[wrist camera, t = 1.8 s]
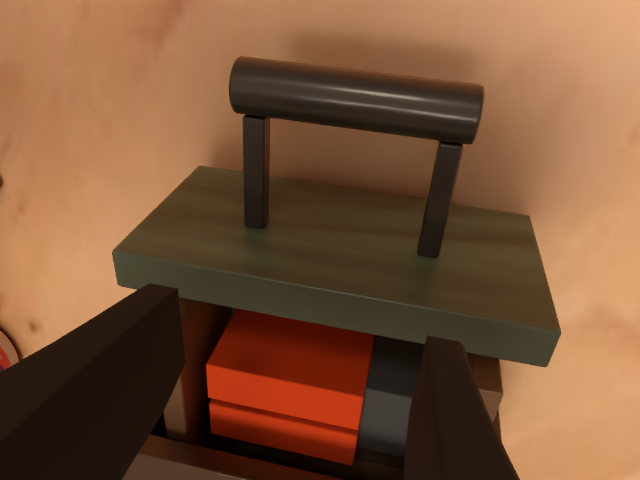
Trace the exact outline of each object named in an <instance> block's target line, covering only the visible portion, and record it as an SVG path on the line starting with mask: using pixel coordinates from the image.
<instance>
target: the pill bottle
mask: <svg viewBox="0 0 640 480" xmlns="http://www.w3.org/2000/svg"><path fill="white" fill-rule="evenodd" d="M17 362H19V359H18V355H17V353H16V350H15V348H14V347H13V345H12V343H11V342H10V340H9V339H8V338H7V337H6V335H5V334H4V333H3V332H1V331H0V372H1V371H3V370H5V369H7V368H8V367H10V366H12V365H14V364H16V363H17Z"/></svg>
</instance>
